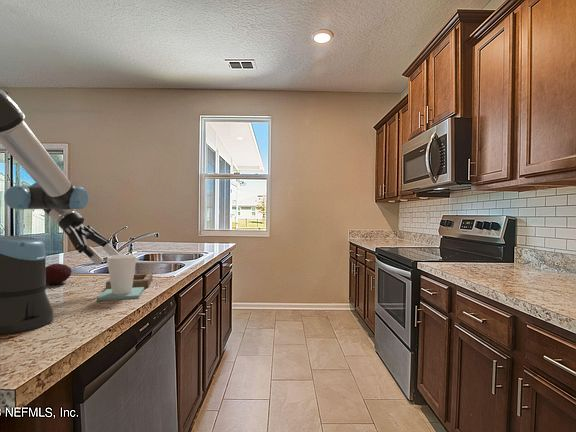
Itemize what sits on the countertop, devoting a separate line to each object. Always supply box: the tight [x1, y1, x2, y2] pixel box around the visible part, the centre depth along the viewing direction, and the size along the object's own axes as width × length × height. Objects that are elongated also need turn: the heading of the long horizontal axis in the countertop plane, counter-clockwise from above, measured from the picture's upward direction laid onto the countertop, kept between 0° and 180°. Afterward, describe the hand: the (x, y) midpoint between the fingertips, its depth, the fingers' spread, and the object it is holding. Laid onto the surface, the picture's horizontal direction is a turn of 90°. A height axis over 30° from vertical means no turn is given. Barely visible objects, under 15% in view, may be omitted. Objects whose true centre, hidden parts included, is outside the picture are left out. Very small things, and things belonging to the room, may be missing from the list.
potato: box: [45, 263, 72, 285], centre depth 135 cm, size 12×11×8 cm
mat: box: [96, 287, 145, 302], centre depth 118 cm, size 13×13×1 cm
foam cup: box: [106, 254, 137, 294], centre depth 118 cm, size 10×9×13 cm
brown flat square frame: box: [105, 272, 154, 290], centre depth 134 cm, size 15×15×3 cm
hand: (109, 260), depth 119 cm, fingers open, 13 cm apart
